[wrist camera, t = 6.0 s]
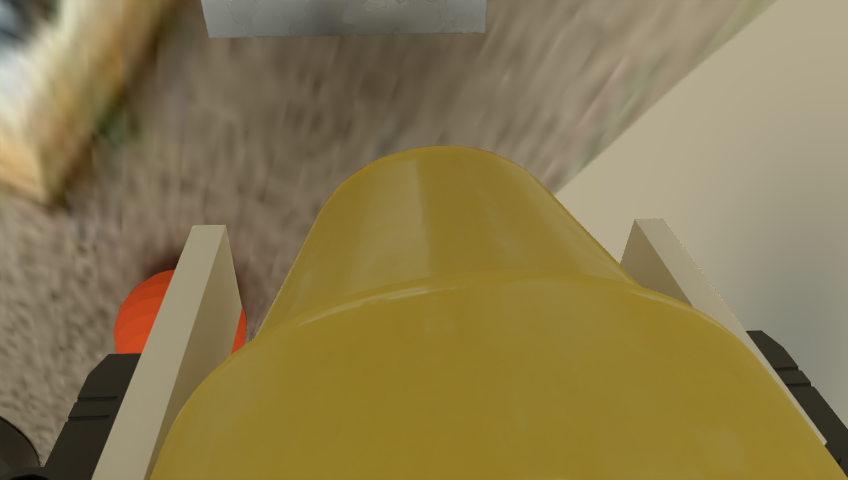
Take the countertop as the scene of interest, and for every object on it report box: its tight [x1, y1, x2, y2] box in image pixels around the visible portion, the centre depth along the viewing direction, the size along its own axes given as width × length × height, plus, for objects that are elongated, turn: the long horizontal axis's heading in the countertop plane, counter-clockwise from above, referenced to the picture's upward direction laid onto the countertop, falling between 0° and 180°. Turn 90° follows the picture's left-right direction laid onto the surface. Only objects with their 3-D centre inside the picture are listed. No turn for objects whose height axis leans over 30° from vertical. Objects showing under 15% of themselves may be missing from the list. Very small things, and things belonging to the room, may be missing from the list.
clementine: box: [114, 270, 246, 355], centre depth 33 cm, size 8×7×7 cm
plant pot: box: [150, 145, 848, 480], centre depth 11 cm, size 10×10×10 cm
